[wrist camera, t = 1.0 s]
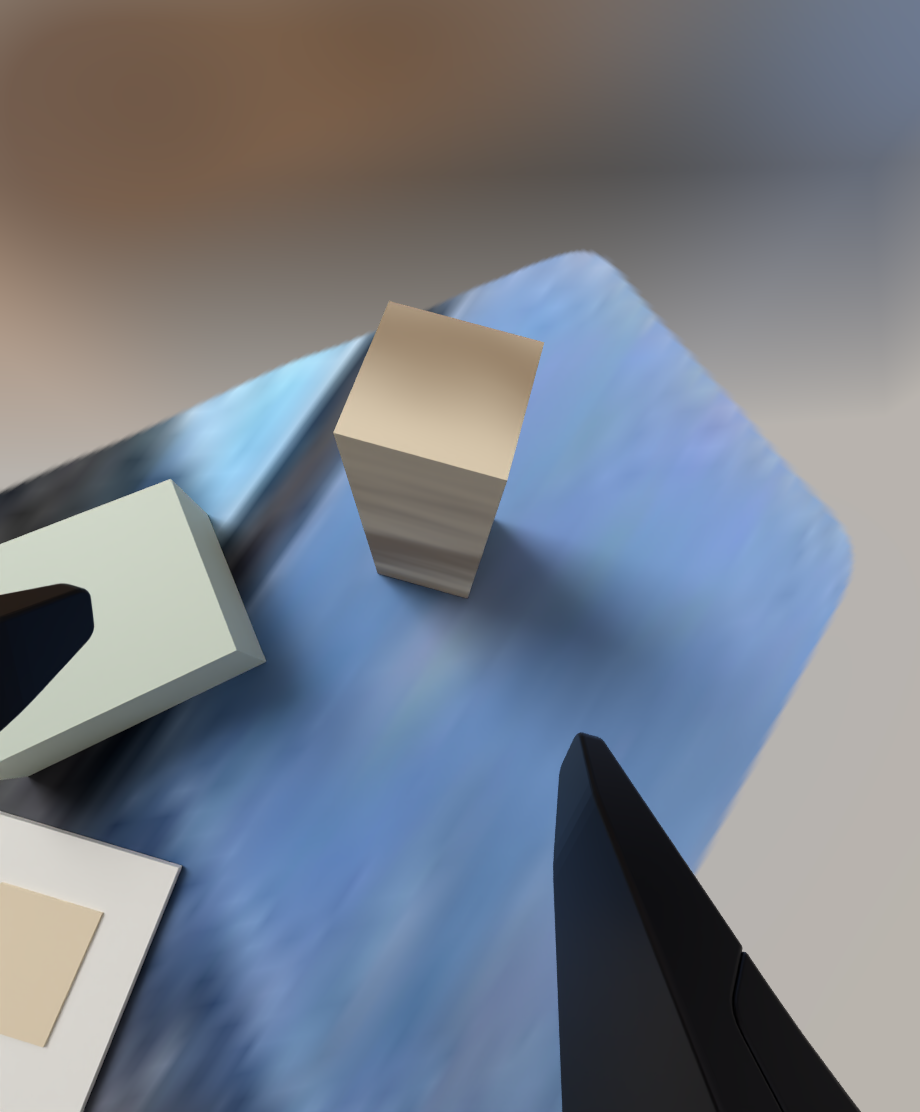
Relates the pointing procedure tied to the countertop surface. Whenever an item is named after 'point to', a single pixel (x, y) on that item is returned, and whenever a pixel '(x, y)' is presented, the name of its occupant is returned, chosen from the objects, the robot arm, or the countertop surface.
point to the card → (68, 956)
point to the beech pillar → (434, 441)
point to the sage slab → (128, 621)
